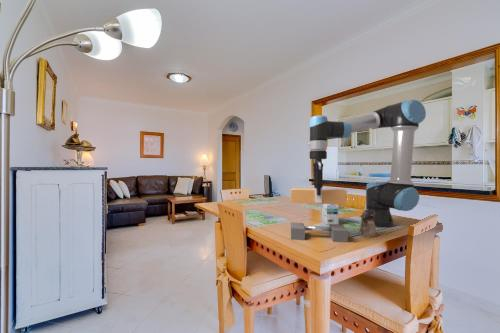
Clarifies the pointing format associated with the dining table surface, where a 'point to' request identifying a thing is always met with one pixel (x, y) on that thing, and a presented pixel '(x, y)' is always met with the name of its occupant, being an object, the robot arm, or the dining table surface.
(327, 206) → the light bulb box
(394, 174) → the robot arm
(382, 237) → the dining table surface
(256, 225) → the dining table surface
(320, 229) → the grey dumbbell
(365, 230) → the figurine
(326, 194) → the light wood long bar
